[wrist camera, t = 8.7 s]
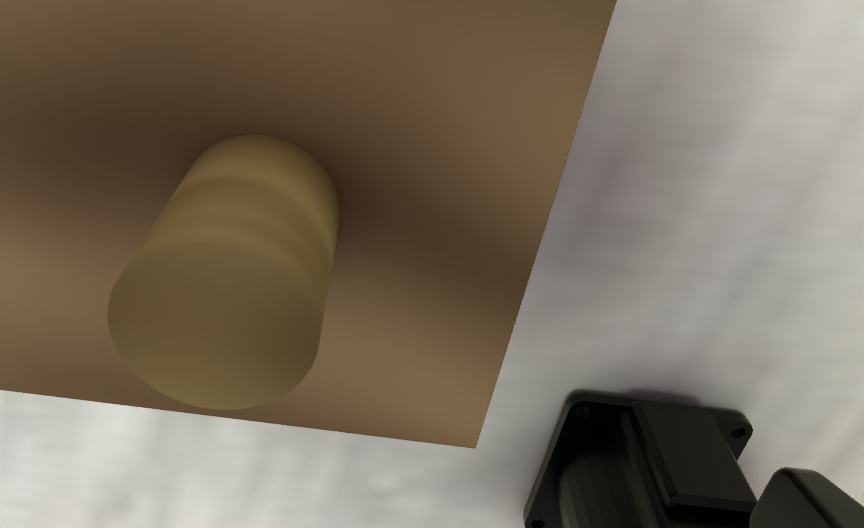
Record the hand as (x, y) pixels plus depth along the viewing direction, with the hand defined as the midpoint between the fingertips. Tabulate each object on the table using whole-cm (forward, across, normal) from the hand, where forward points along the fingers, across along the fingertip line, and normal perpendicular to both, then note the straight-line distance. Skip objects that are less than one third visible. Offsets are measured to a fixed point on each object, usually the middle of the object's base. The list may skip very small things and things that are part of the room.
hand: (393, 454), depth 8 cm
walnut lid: (+8, +3, +1) cm, 8 cm away
